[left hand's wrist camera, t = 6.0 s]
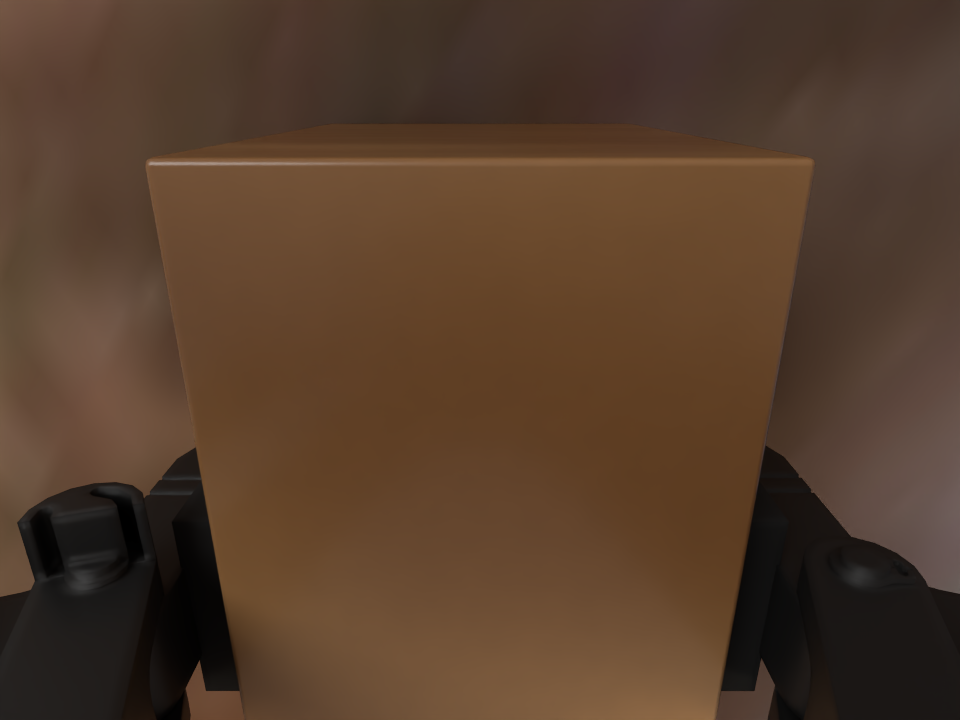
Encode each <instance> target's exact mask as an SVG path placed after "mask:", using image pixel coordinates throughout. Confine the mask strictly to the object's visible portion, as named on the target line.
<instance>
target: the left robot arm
mask: <svg viewBox="0 0 960 720" xmlns="http://www.w3.org/2000/svg"><path fill="white" fill-rule="evenodd" d="M798 475H799V474H798V473H797V472H796V471H795V470H794V468H793V467H792V466H791V465H790V464H789V463H788V461H787V460H786V459H785V458H784V457H783V456H782V455H780V454H778V453H777V452H775V451H773V450H772V449H770V448H769V447H767V446H765V449H764V455H763V460H762V466H761V471H760V477H759V483H758V488H757V494H756V499H755V505H754V510H753V516H752V521H751V527H750V533H749V538H748V544H747V549H746V555H745V560H744V566H743V571H742V577H741V583H740V588H739V594H738V599H737V605H736V610H735V616H734V621H733V627H732V633H731V638H730V644H729V649H728V655H727V660H726V666H725V671H724V677H723V683H722V688H721V691H754V690H755V685H756V680H757V675H758V670H759V666H760V661H761V658H762V660H763V662H764V664H765V666H766V668H767V670H768V672H769V674H770V676H771V678H772V680H773V682H774V684H775V688H774V693H773V697H772V702H771V706H770V711H769V716H768V720H960V594H957V593H952V592H947V591H942V590H938V589H935V588H931V587H928V585H927V583H926V581H925V579H924V578H923V577H922V576H921V574H920V573H919V572H918V570H917V569H916V568H915V566H914V565H912V564H911V563H909V562H908V561H907V560H905V559H904V558H903V557H901V556H900V555H898V554H897V553H895V552H893V551H891V550H889V549H887V548H884V547H882V546H880V545H878V544H876V543H872V542H869V541H865V540H861V539H857V538H853V537H851V536H850V535H849V534H848V533H847V532H846V530H845V529H844V528H843V527H842V526H841V524H840V523H839V522H838V521H837V520H836V518H835V517H834V516H833V515H832V514H831V513H830V511H829V510H828V509H827V508H826V507H825V505H824V504H823V503H822V502H821V501H820V499H819V498H818V497H817V496H816V495H815V493H811V489H810V488H809V486H808V485H807V484H806V483H805V482H804V480H803V479H802V478H799V477H798ZM17 523H18V527H19V530H20V533H21V536H22V540H23V543H24V546H25V549H26V553H27V556H28V559H29V562H30V566H31V569H32V572H33V575H34V579H35V582H34V585H33V587H32V589H31V590H29V591H26V592H22V593H17V594H12V595H8V596H3V597H0V720H190V716H191V715H190V708H189V702H188V697H187V693H186V686H187V684H188V682H189V680H190V678H191V676H192V674H193V672H194V670H195V668H196V666H197V664H198V662H199V660H200V664H201V668H202V673H203V678H204V683H205V688H206V691H240V690H239V685H238V679H237V674H236V668H235V662H234V657H233V651H232V646H231V640H230V635H229V629H228V623H227V618H226V612H225V607H224V601H223V596H222V590H221V585H220V579H219V573H218V568H217V562H216V557H215V551H214V546H213V540H212V534H211V529H210V523H209V518H208V512H207V507H206V501H205V496H204V490H203V484H202V479H201V473H200V468H199V462H198V457H197V451H196V448H194V449H192V450H191V451H189V452H188V453H186V454H184V455H183V456H181V457H179V458H178V459H177V460H176V461H175V462H174V463H173V465H172V466H171V467H170V468H169V469H168V471H167V472H166V473H165V474H164V475H163V477H162V480H159V481H158V483H157V484H156V485H155V486H154V487H153V489H152V490H151V491H150V495H147V496H146V497H145V498H144V497H143V493H142V492H141V491H140V490H138V489H137V488H135V487H134V486H133V485H128V484H122V483H117V482H111V483H94V484H90V485H85V486H81V487H76V488H72V489H69V490H67V491H64V492H61V493H59V494H56V495H54V496H51V497H49V498H47V499H45V500H44V501H42V502H41V503H39V504H37V505H36V506H34V507H33V508H31V509H29V510H28V511H27V513H26V514H25V515H24V516H23V517H22V518H21V519H20V520H19V521H18V522H17Z"/></svg>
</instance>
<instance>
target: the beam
mask: <svg viewBox="0 0 960 720" xmlns="http://www.w3.org/2000/svg"><path fill="white" fill-rule="evenodd" d="M814 171H815V161H814V160H813V159H811V158H809V157H805V156H800V155H794V154H789V153H783V152H778V151H773V150H767V149H762V148H757V147H751V146H746V145H741V144H735V143H730V142H724V141H719V140H714V139H708V138H703V137H698V136H692V135H687V134H682V133H676V132H671V131H665V130H660V129H655V128H649V127H644V126H639V125H633V124H327V125H322V126H316V127H311V128H306V129H300V130H295V131H290V132H284V133H279V134H274V135H268V136H263V137H258V138H252V139H247V140H242V141H236V142H231V143H226V144H220V145H215V146H210V147H204V148H199V149H194V150H188V151H183V152H178V153H172V154H167V155H162V156H156V157H152V158H150V159H148V160H147V161H146V173H147V178H148V184H149V190H150V195H151V201H152V206H153V212H154V217H155V223H156V228H157V234H158V240H159V245H160V251H161V256H162V262H163V267H164V273H165V279H166V284H167V290H168V295H169V301H170V306H171V312H172V317H173V323H174V329H175V334H176V340H177V345H178V351H179V356H180V362H181V368H182V373H183V379H184V384H185V390H186V395H187V401H188V407H189V412H190V418H191V423H192V429H193V434H194V440H195V445H196V451H197V457H198V462H199V468H200V473H201V479H202V484H203V490H204V496H205V501H206V507H207V512H208V518H209V523H210V529H211V534H212V540H213V546H214V551H215V557H216V562H217V568H218V573H219V579H220V585H221V590H222V596H223V601H224V607H225V612H226V618H227V623H228V629H229V635H230V640H231V646H232V651H233V657H234V662H235V668H236V674H237V679H238V685H239V690H240V696H241V701H242V707H243V713H244V718H245V720H716V716H717V710H718V705H719V699H720V694H721V688H722V683H723V677H724V671H725V666H726V660H727V655H728V649H729V644H730V638H731V633H732V627H733V621H734V616H735V610H736V605H737V599H738V594H739V588H740V583H741V577H742V571H743V566H744V560H745V555H746V549H747V544H748V538H749V533H750V527H751V521H752V516H753V510H754V505H755V499H756V494H757V488H758V483H759V477H760V471H761V466H762V460H763V455H764V449H765V444H766V438H767V433H768V427H769V421H770V416H771V410H772V405H773V399H774V394H775V388H776V383H777V377H778V371H779V366H780V360H781V355H782V349H783V344H784V338H785V333H786V327H787V321H788V316H789V310H790V305H791V299H792V294H793V288H794V283H795V277H796V271H797V266H798V260H799V255H800V249H801V244H802V238H803V233H804V227H805V221H806V216H807V210H808V205H809V199H810V194H811V188H812V183H813V177H814Z"/></svg>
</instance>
